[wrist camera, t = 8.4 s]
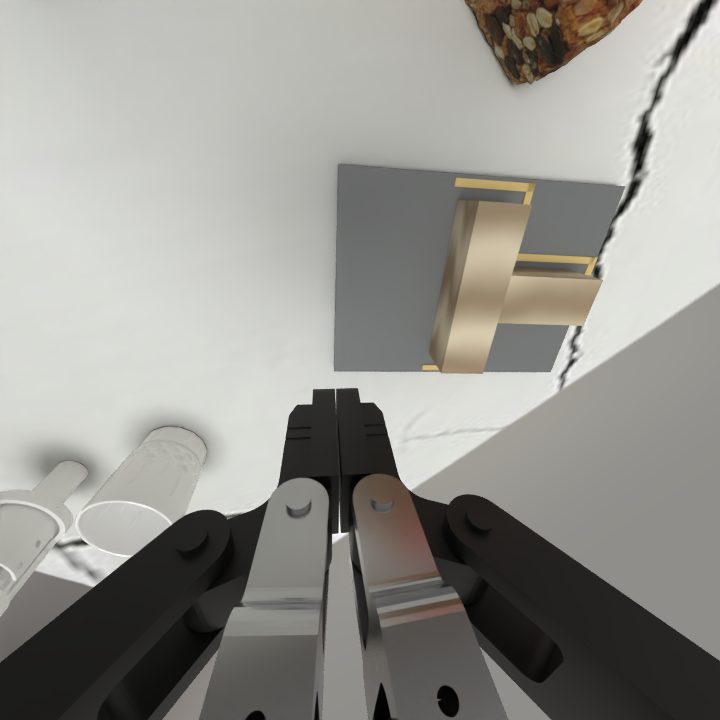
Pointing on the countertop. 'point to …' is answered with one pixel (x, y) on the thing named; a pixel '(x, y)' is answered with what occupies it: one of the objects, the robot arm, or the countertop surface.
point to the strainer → (34, 525)
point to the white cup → (144, 493)
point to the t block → (497, 287)
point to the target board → (428, 259)
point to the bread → (545, 31)
